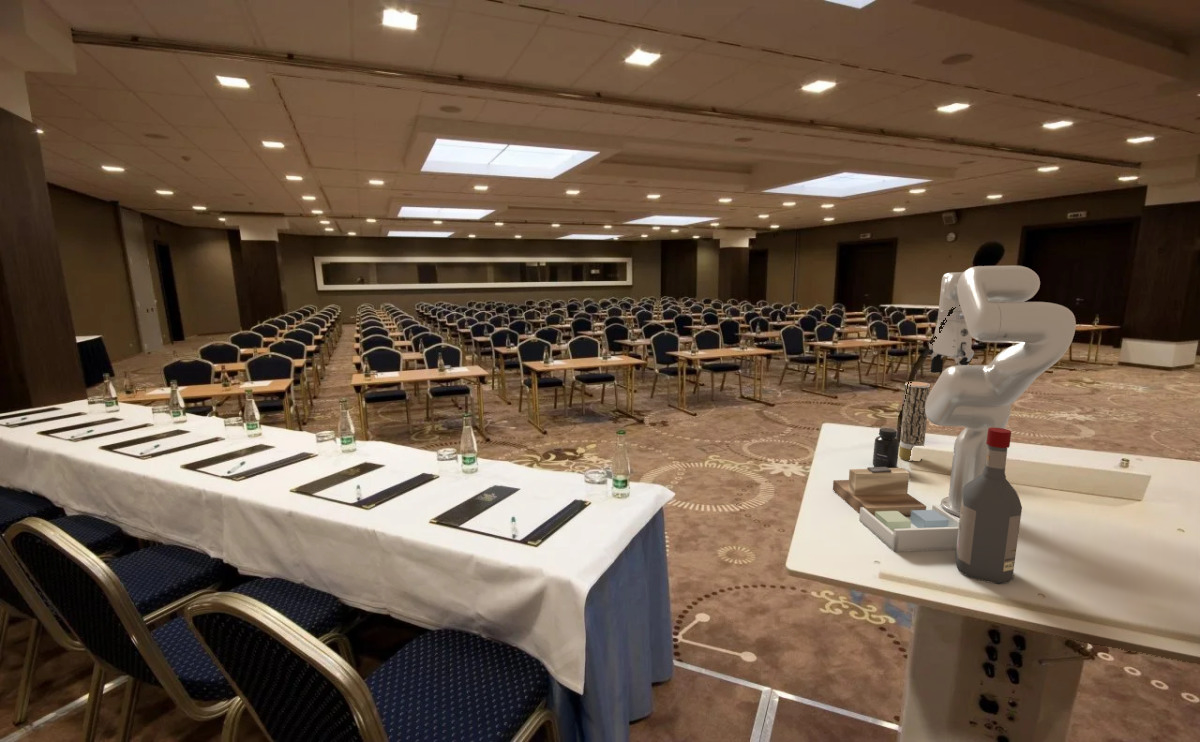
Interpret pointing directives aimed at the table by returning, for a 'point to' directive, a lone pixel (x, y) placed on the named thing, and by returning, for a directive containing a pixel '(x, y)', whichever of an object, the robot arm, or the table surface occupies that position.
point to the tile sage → (893, 519)
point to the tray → (914, 533)
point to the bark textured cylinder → (913, 418)
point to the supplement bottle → (886, 448)
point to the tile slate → (928, 519)
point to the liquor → (989, 518)
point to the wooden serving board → (878, 500)
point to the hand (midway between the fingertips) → (947, 375)
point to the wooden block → (878, 481)
